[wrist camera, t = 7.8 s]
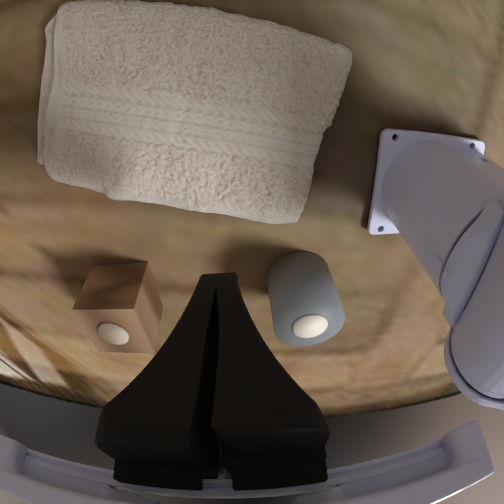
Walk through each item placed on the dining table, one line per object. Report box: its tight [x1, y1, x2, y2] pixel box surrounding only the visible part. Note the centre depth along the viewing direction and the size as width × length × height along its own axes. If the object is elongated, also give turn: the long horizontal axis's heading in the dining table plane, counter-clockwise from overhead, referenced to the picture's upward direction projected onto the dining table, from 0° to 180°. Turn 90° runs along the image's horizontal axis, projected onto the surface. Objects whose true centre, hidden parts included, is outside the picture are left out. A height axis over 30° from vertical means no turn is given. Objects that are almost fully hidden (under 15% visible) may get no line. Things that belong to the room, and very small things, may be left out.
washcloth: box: [37, 0, 353, 224], centre depth 15 cm, size 12×18×3 cm, turn 76°
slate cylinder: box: [267, 252, 345, 346], centre depth 23 cm, size 5×5×5 cm
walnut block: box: [72, 262, 163, 353], centre depth 23 cm, size 5×5×5 cm
